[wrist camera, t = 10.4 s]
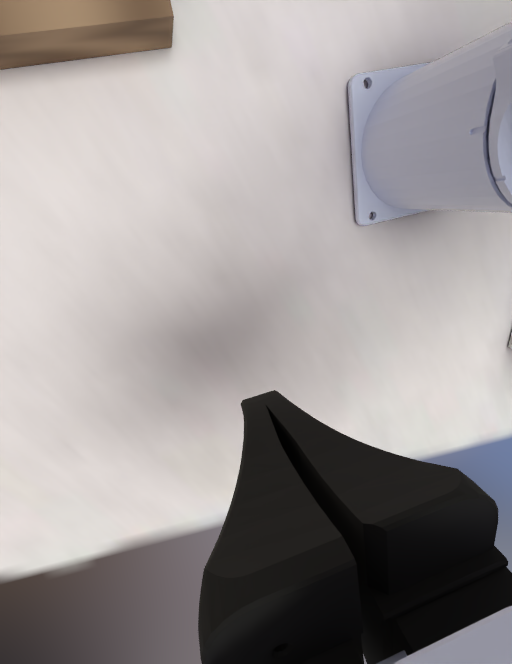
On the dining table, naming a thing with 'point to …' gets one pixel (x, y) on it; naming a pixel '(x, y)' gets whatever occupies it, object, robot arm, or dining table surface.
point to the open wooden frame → (80, 29)
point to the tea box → (511, 343)
